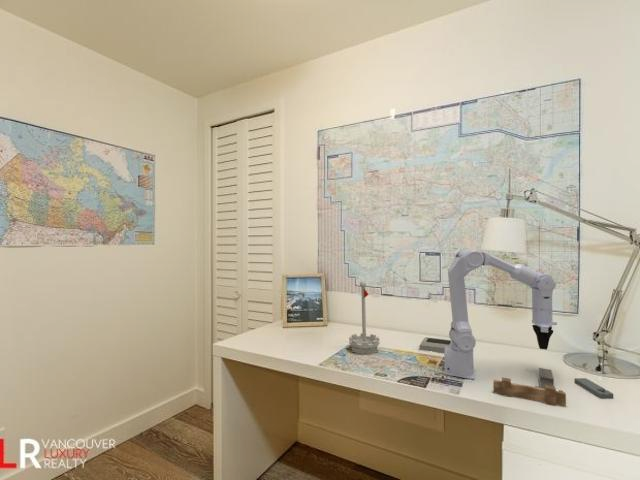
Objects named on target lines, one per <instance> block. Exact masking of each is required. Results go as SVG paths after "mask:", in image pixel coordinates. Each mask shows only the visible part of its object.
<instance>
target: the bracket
mask: <svg viewBox="0 0 640 480" xmlns="http://www.w3.org/2000/svg"><path fill="white" fill-rule="evenodd" d="M574 384H576V385H577V386H579V387H580V388H582V389H583V390H585V391H586V392H589V393H590V394H592V395H594V396H595V397H597V398H598V399H600V400H601V399H602V400H605V399H606V400H608V399H609V400H612V399H614V393H613V392H611V391H609V390H607V389H606V388H604V387H602V386H601V385H599V384H597V383H595V382H594V381H592V380H591V379H588V378H587V377H584V378H583V377H581V378H578V377H577V378H574Z"/></svg>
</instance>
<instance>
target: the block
mask: <svg viewBox="0 0 640 480" xmlns="http://www.w3.org/2000/svg"><path fill="white" fill-rule="evenodd" d="M538 382H539V388H543V389H545V385H550V386H555V384H554V375H553V372H552V369H549V368H542V367H538Z"/></svg>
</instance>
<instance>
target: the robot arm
mask: <svg viewBox="0 0 640 480" xmlns="http://www.w3.org/2000/svg"><path fill="white" fill-rule="evenodd" d="M482 266H484V267H486V266H491V267H492V268H495V269H498V270H501V271H503V272H506V273H507V274H509V276H510V279H513V280H515V281H517V282H520V283H521V284H524V285H526V286H529V287H530V288H531V306H532V307H531V312H532V316H531V317H532V318H531V323H532V329H533V332H534V333H535V336H536V338H537V344H538V349H540V350H544V351H545V350H548V347H549V343H550V340H551V337H552V335H553V333H554V330H553V327H552V326H557V325H558V323H557V321H553V291H554V290H555V289H556V287H557V283H556V282H555V279H554V278H553V277H552V275H550V274H544V273H542V271H541V270H539V269H534V268H531V267H528V264H525V263H516V264H513V263H510V262H507V261H506V260H503V259H501V258H499V257H497V256H496V255H493V254H490V253H488V252H485V251H480V250H478V249H469V248H462V249H460V250H459V251H458V252H456V253H455V254H454V256H453V260H452V262H451V264H450V266H449V268H448V271H447V276H448V277H447V278H448V289H449V296H450V298H449V299H450V308H451V319H452V321H451V323H450V329H449V333H448V337H449V340H452V344H451V346H446V347H445V352H444V353H443V358H444V359H443V360H444V363H443V365H444V366H443V367H444V375H447V376H452V377H458V378H463V379H469V380H475V375H476V372H477V370H476V369H474V366H475V365H474V349H475V347H476V344H477V343H476V339H475V336H474V335H473V331H472V327H471V325H470V322H469V314H468V305H467V292H466V283H465V277H466V276H467V275H468V274H469V273H470V272H472V271H474V270H476V269H478V268H480V267H482Z"/></svg>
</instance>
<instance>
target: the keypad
mask: <svg viewBox="0 0 640 480" xmlns="http://www.w3.org/2000/svg"><path fill="white" fill-rule="evenodd" d="M451 344H452V340H451V339H443V338H436V337H429V336H428V337H427V336H426V337H424V338H423V340H422V341H421V342H420V344H419V345H418V346H419V347H418V348H419V350H420V351H426V352H431V351H432V352H433V353H439V354H440V353H441V354H444V352H445V347H446V346H451Z"/></svg>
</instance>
